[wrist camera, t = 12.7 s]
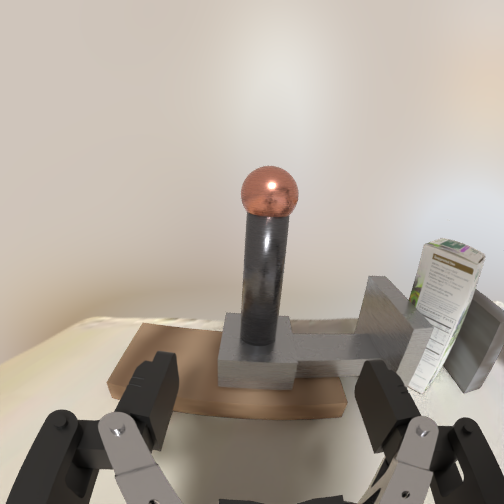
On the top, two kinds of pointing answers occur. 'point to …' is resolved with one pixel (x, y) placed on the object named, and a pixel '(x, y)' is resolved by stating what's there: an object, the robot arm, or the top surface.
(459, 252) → the syrup box
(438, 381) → the top surface
